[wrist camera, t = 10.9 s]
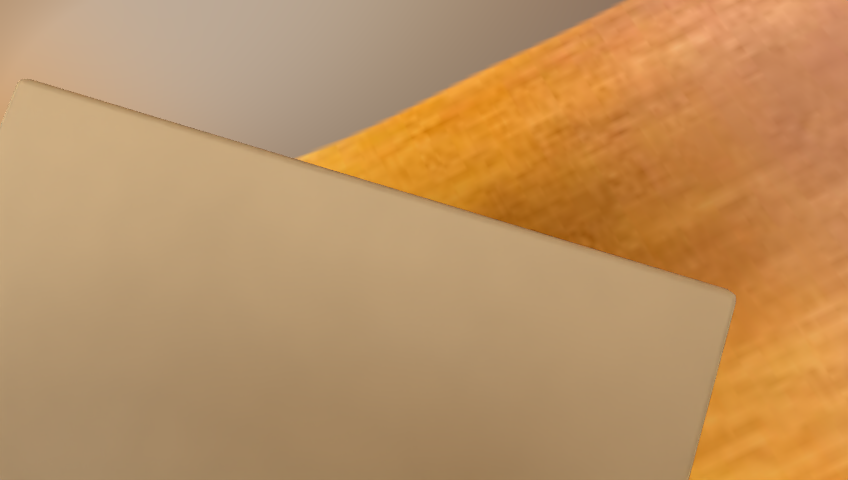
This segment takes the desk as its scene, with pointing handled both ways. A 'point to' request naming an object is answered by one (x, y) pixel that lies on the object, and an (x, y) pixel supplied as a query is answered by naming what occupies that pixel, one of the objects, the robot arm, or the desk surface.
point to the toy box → (315, 322)
